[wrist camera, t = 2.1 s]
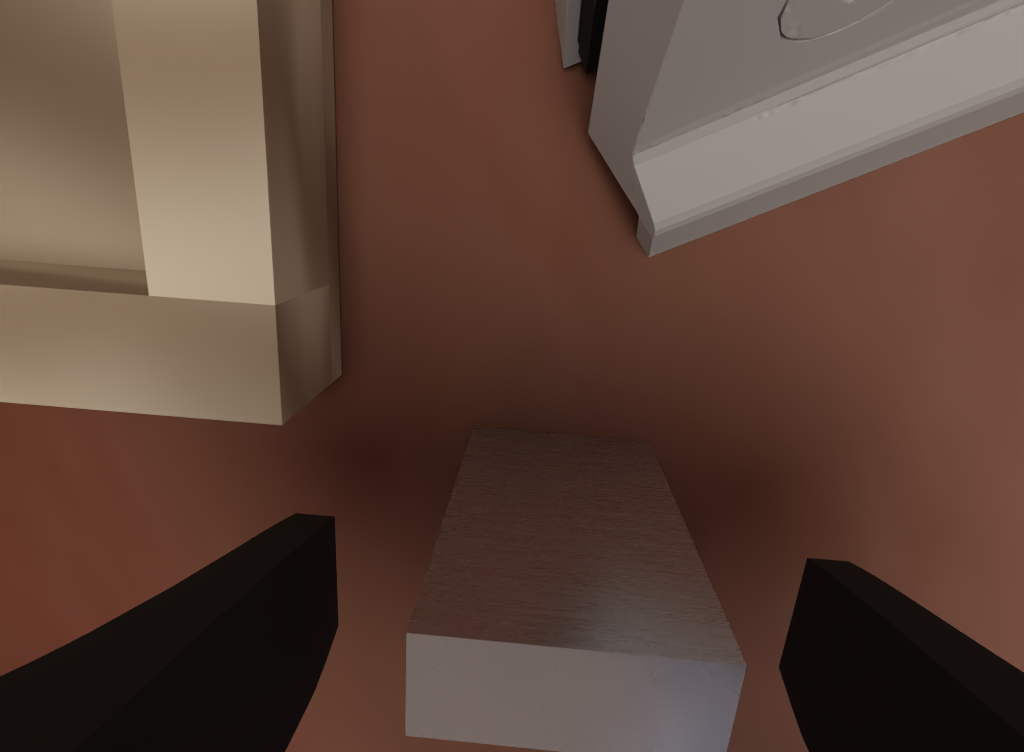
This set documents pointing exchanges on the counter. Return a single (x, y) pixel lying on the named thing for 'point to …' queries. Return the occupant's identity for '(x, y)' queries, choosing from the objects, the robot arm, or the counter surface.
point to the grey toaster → (780, 95)
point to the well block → (168, 206)
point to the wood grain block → (569, 606)
